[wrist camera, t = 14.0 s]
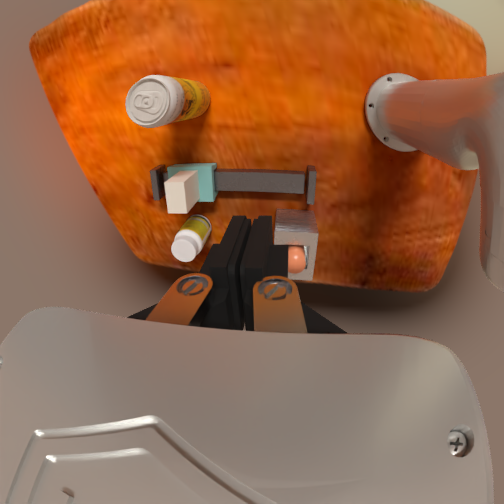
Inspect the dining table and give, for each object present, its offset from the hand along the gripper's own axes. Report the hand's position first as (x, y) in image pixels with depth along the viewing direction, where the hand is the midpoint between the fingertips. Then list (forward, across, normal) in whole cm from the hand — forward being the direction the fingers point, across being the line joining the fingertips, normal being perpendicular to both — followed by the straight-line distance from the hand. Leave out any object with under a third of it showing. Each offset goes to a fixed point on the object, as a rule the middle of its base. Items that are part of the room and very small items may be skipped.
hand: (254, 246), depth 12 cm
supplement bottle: (+31, +14, +14) cm, 37 cm away
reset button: (+25, -2, +15) cm, 29 cm away
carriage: (+31, +14, +5) cm, 34 cm away
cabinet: (+31, -2, +15) cm, 34 cm away
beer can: (+31, +13, -8) cm, 34 cm away
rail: (+31, +8, +6) cm, 32 cm away
